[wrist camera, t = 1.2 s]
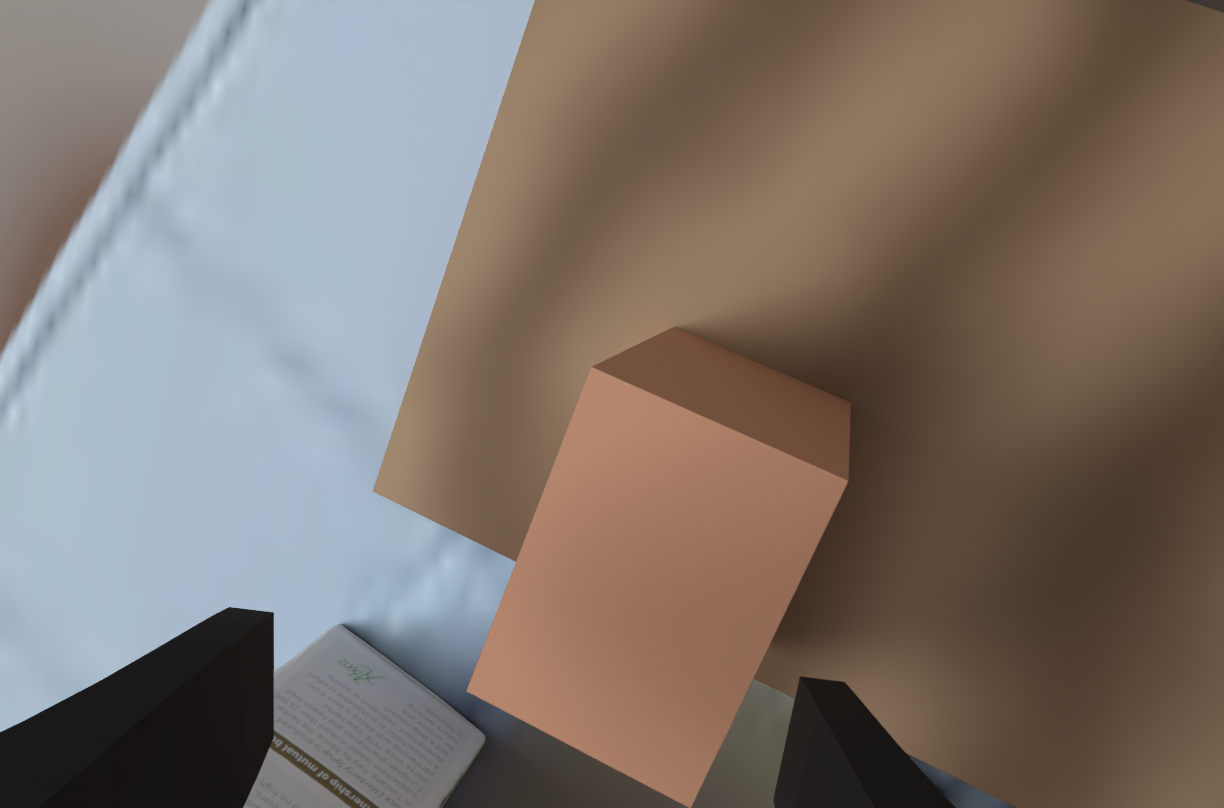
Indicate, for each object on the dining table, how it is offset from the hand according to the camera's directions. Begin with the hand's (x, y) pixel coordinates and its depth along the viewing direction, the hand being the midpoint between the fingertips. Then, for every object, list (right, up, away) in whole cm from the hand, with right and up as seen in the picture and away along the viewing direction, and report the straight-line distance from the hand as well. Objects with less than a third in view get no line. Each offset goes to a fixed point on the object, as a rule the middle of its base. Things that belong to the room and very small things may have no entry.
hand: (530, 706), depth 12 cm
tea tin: (+3, +2, +9) cm, 10 cm away
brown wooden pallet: (+8, +6, +9) cm, 13 cm away
